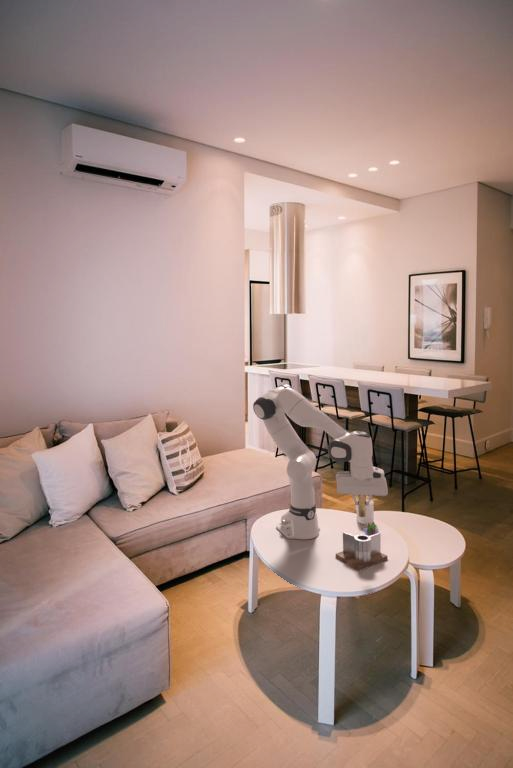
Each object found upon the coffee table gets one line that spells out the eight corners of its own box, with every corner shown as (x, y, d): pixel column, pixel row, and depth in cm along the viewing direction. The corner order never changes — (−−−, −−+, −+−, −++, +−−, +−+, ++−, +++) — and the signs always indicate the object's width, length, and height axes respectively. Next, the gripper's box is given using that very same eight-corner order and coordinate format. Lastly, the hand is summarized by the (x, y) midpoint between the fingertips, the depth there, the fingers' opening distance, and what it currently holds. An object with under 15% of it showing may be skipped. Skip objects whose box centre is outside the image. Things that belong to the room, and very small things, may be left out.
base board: (335, 557, 197) (335, 553, 197) (363, 547, 205) (363, 543, 205) (359, 570, 185) (359, 566, 185) (387, 559, 193) (387, 555, 193)
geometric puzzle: (383, 536, 210) (378, 519, 214) (369, 538, 208) (364, 521, 212) (377, 540, 216) (371, 523, 220) (363, 542, 214) (358, 525, 218)
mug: (349, 517, 240) (349, 497, 239) (363, 514, 242) (363, 495, 241) (362, 525, 228) (362, 505, 227) (377, 523, 231) (376, 503, 230)
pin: (357, 515, 190) (356, 486, 189) (362, 513, 192) (361, 485, 190) (362, 517, 187) (361, 488, 186) (367, 515, 189) (367, 487, 188)
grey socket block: (340, 552, 198) (340, 531, 197) (363, 544, 205) (362, 524, 204) (362, 564, 187) (362, 542, 186) (385, 555, 194) (385, 534, 193)
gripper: (335, 473, 187) (335, 506, 188) (387, 474, 182) (388, 508, 184) (336, 468, 193) (336, 501, 195) (387, 470, 189) (387, 503, 190)
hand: (362, 504), depth 189 cm, fingers closed on pin, 3 cm apart
